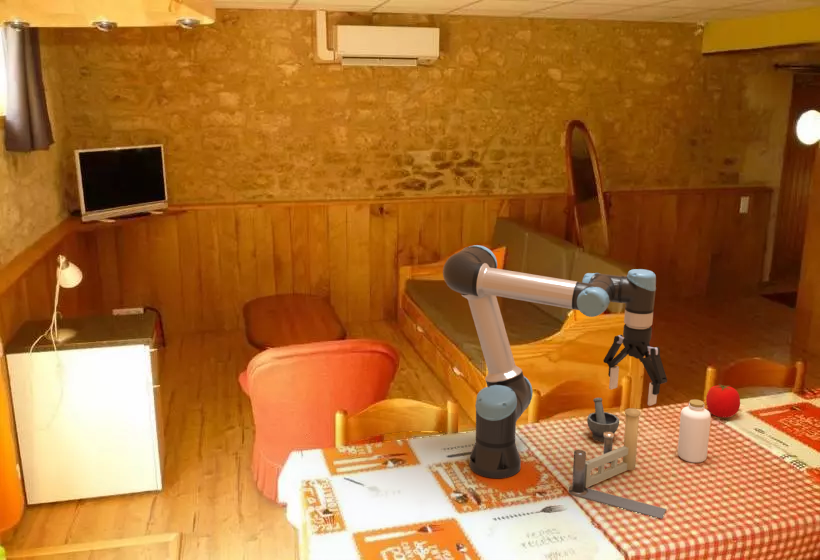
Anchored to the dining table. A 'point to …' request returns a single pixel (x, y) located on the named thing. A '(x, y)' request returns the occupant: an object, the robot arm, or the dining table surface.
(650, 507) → the strip
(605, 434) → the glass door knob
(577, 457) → the brown knob post
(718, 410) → the tomato
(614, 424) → the mortar and pestle
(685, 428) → the potion bottle
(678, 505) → the dining table surface
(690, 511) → the dining table surface
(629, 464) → the slotted fence panel
